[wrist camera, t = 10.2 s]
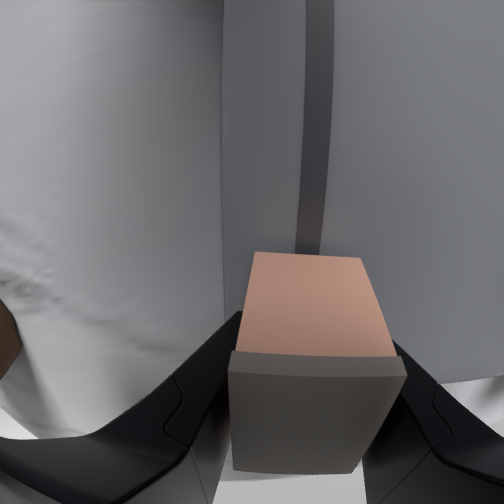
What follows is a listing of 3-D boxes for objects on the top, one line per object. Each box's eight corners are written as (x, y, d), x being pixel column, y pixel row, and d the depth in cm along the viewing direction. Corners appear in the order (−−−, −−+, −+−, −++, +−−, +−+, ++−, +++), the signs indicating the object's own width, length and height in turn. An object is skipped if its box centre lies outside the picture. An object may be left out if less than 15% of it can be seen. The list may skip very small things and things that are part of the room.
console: (238, -86, 6) (229, -115, 4) (608, 49, 5) (633, 52, 3) (234, 350, 14) (227, 384, 12) (545, 342, 13) (560, 363, 11)
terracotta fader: (253, 249, 9) (227, 370, 5) (361, 256, 9) (407, 375, 5) (250, 355, 11) (233, 470, 7) (338, 359, 11) (351, 473, 7)
